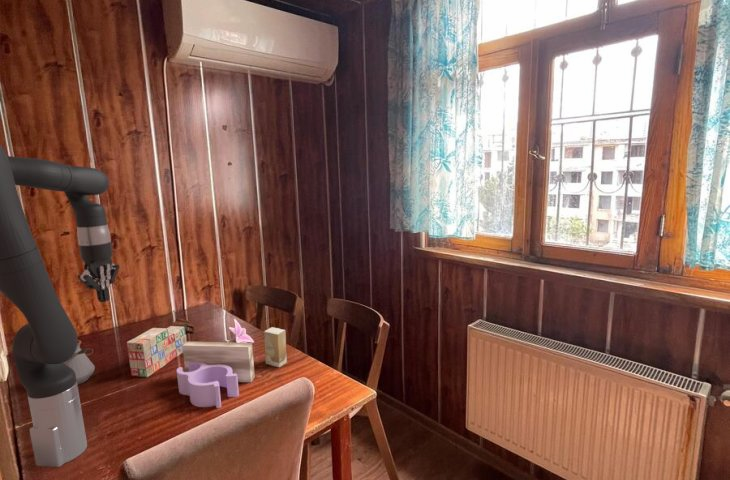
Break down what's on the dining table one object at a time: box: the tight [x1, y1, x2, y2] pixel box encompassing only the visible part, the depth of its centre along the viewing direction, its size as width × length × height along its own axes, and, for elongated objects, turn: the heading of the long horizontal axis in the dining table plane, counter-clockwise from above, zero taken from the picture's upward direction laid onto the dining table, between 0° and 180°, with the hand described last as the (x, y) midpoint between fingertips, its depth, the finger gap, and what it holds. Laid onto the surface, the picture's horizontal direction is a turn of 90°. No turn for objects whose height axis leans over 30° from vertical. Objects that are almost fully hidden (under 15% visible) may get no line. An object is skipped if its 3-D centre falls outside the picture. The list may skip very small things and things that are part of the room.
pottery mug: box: [170, 318, 195, 334], centre depth 165 cm, size 12×10×8 cm
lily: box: [228, 318, 255, 344], centre depth 154 cm, size 12×12×10 cm
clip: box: [176, 361, 240, 409], centre depth 122 cm, size 20×12×7 cm, turn 60°
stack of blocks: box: [126, 325, 187, 378], centre depth 142 cm, size 21×6×12 cm, turn 168°
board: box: [182, 341, 256, 383], centre depth 129 cm, size 3×22×12 cm, turn 84°
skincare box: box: [263, 326, 288, 368], centre depth 139 cm, size 6×4×12 cm
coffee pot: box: [64, 339, 96, 386], centre depth 128 cm, size 21×12×15 cm, turn 55°
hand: (104, 301), depth 114 cm, fingers closed
